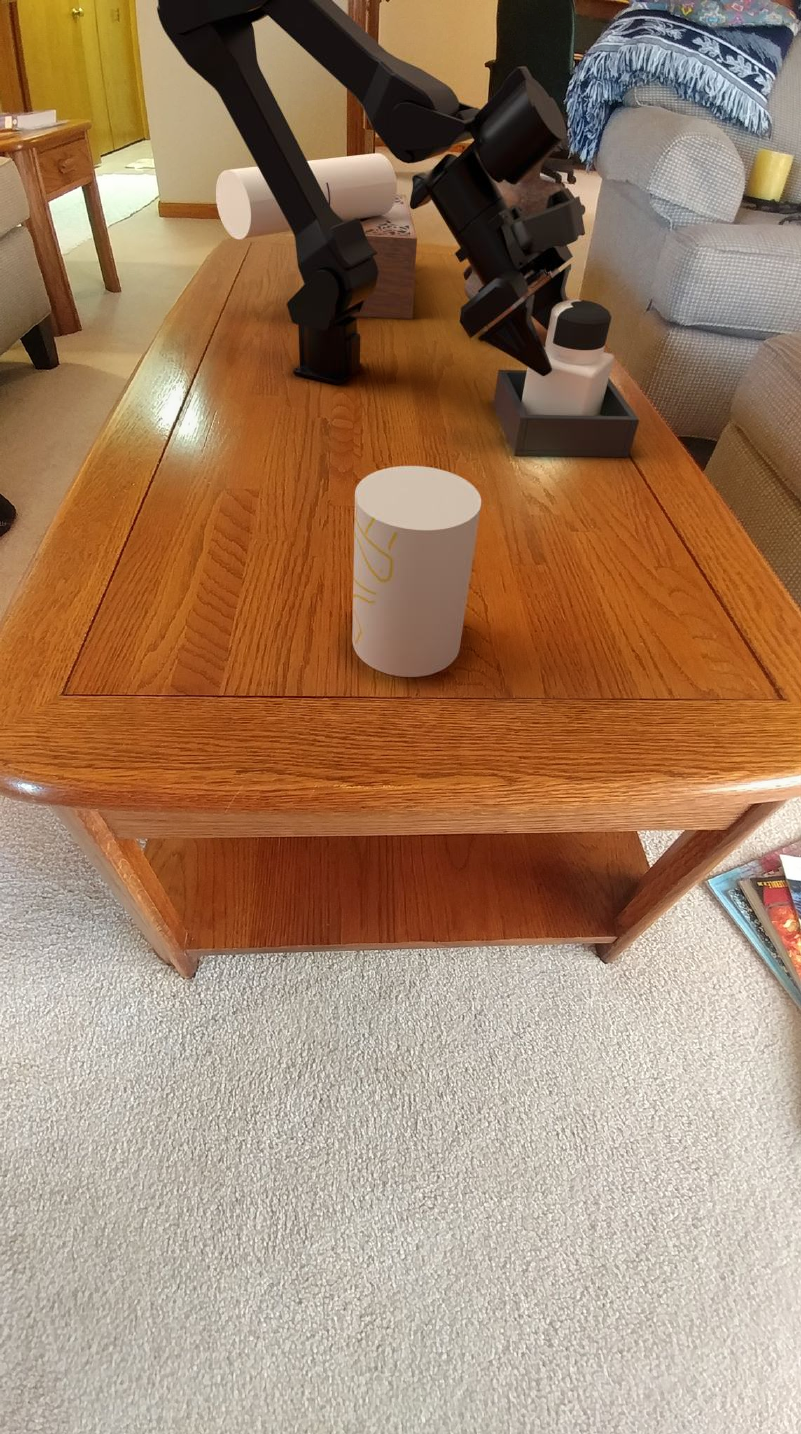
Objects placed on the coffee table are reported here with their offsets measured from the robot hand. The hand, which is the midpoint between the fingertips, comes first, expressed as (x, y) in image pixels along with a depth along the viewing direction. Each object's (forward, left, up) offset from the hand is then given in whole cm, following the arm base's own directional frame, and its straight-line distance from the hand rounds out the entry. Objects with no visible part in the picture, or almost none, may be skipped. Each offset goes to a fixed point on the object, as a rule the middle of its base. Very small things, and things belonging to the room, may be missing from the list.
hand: (561, 359), depth 80 cm
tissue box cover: (-39, +33, -8) cm, 52 cm away
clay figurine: (-13, +25, -8) cm, 29 cm away
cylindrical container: (-46, +10, +6) cm, 47 cm away
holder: (+1, 0, -7) cm, 7 cm away
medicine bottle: (+1, 0, -7) cm, 7 cm away
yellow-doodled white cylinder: (+1, -42, -8) cm, 43 cm away
